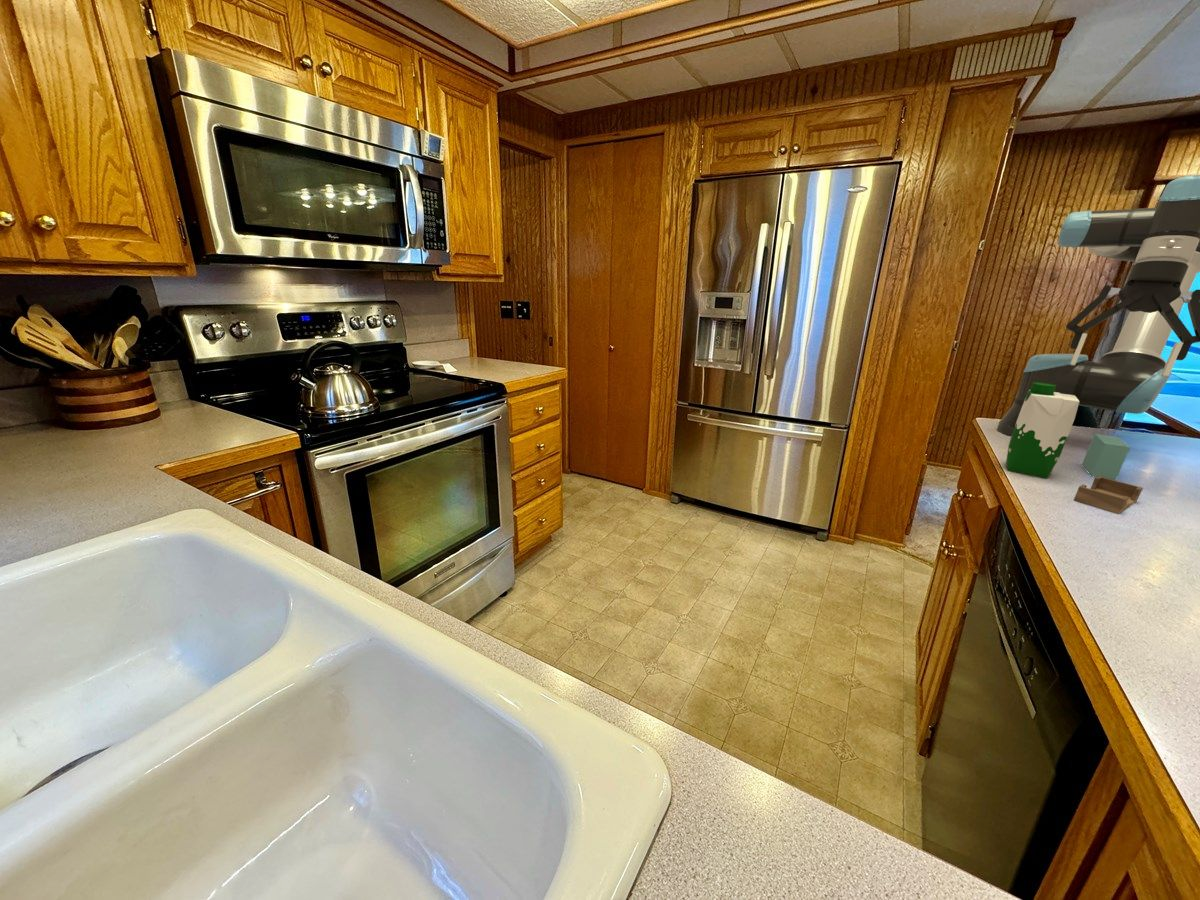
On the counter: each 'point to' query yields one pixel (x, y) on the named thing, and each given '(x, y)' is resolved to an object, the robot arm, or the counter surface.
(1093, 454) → the key block
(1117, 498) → the holder
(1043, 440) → the milk carton
